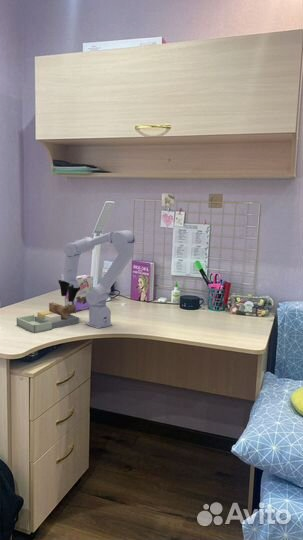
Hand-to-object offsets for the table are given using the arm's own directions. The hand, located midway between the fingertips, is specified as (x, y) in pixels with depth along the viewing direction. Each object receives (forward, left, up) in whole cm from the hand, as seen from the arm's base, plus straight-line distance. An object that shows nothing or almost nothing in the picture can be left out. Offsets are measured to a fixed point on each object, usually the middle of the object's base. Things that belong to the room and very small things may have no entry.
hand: (67, 298), depth 191 cm
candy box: (+12, -15, -10) cm, 22 cm away
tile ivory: (-4, +10, -7) cm, 13 cm away
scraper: (-1, +2, -7) cm, 7 cm away
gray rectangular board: (-1, +10, -10) cm, 14 cm away
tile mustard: (+2, +10, -7) cm, 12 cm away
